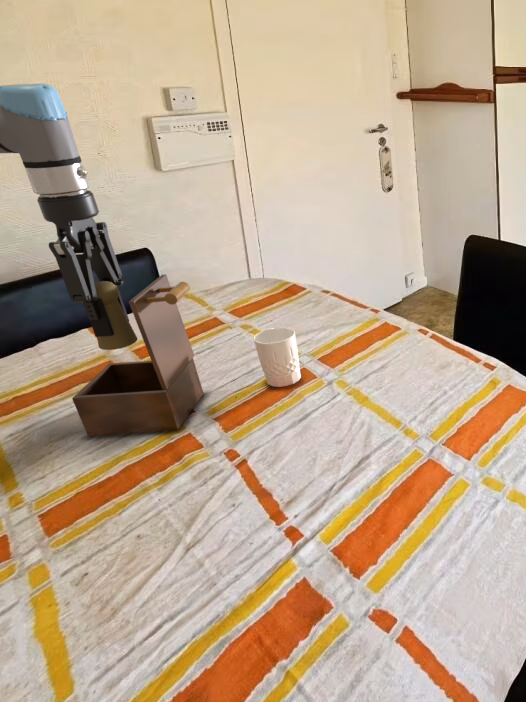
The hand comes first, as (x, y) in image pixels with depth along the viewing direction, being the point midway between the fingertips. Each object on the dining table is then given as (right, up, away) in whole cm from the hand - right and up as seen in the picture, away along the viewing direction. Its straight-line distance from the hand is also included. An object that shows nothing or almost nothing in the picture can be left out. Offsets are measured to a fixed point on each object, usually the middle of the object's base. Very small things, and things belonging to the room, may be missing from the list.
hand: (112, 328), depth 109 cm
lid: (+8, 0, +1) cm, 8 cm away
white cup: (+23, -9, +19) cm, 31 cm away
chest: (+1, -15, +8) cm, 17 cm away
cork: (0, -3, +1) cm, 3 cm away
